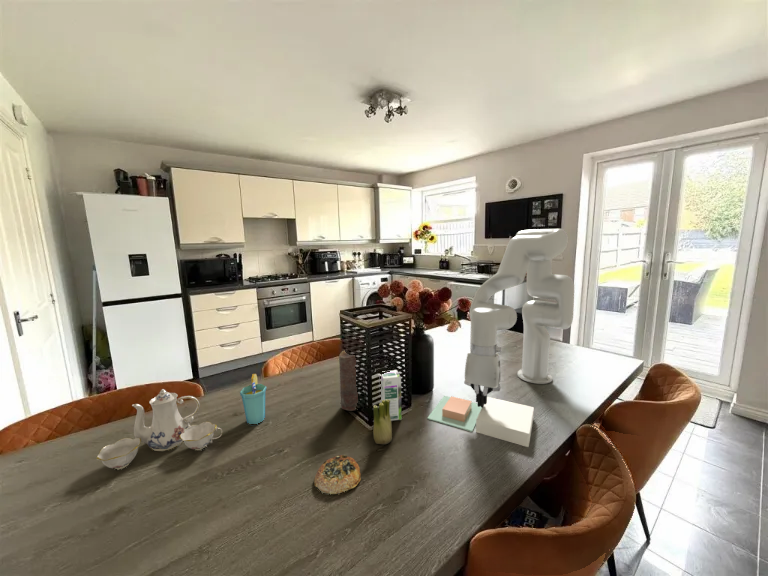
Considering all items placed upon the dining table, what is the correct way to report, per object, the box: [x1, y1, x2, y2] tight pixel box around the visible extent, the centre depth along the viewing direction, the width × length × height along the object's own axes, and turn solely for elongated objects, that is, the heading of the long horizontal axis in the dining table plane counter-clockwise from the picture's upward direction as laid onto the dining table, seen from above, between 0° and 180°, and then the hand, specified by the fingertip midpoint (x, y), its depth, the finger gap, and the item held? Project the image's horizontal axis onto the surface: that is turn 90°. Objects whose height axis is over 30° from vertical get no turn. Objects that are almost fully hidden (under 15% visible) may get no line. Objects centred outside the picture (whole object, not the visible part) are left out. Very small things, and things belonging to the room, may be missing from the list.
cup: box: [239, 373, 267, 425], centre depth 95 cm, size 14×8×15 cm, turn 27°
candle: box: [338, 350, 358, 412], centre depth 102 cm, size 8×7×20 cm
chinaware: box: [95, 388, 223, 469], centre depth 83 cm, size 28×17×17 cm, turn 118°
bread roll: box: [313, 454, 362, 495], centre depth 72 cm, size 11×11×5 cm
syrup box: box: [380, 369, 403, 422], centre depth 97 cm, size 6×6×14 cm
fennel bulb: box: [372, 399, 393, 445], centre depth 85 cm, size 6×5×12 cm
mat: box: [426, 395, 482, 433], centre depth 100 cm, size 16×14×1 cm
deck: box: [475, 396, 535, 448], centre depth 92 cm, size 15×14×4 cm
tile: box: [442, 395, 473, 422], centre depth 99 cm, size 9×7×2 cm
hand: (481, 404), depth 95 cm, fingers closed
